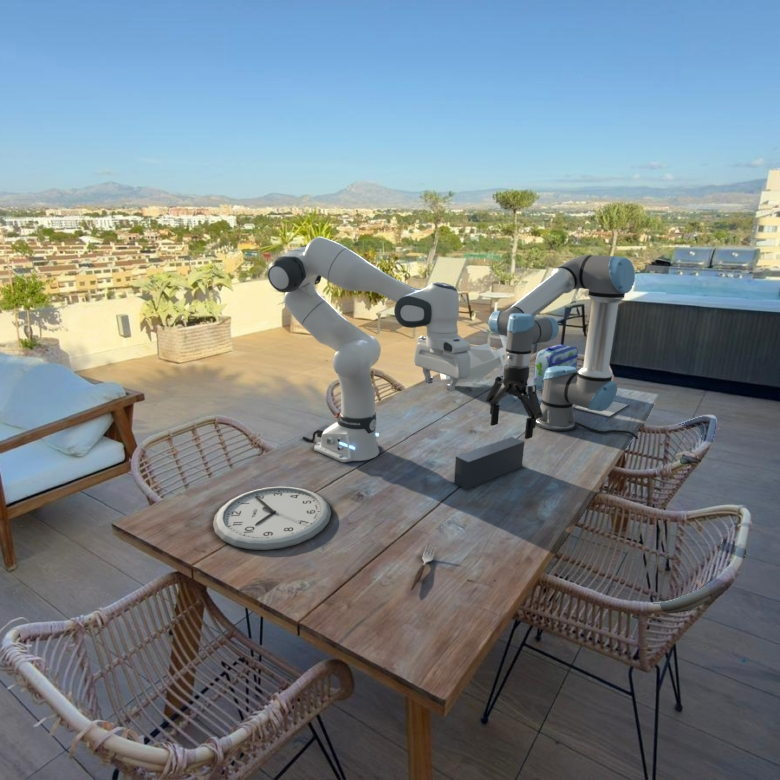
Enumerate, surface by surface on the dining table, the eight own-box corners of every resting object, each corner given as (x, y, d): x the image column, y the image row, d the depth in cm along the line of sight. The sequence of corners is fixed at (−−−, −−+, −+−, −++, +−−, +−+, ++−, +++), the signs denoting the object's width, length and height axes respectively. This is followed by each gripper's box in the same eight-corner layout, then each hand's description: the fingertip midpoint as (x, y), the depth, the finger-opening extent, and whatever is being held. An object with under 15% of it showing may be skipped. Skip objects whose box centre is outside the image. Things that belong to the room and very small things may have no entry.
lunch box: (550, 397, 237) (555, 352, 231) (529, 391, 245) (533, 348, 238) (577, 386, 255) (582, 344, 249) (556, 381, 262) (561, 340, 256)
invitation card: (608, 416, 214) (573, 407, 224) (608, 416, 214) (573, 408, 224) (628, 404, 229) (594, 396, 238) (628, 405, 229) (594, 397, 238)
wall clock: (329, 541, 123) (198, 546, 121) (329, 547, 124) (199, 552, 121) (332, 482, 152) (226, 484, 149) (332, 487, 152) (226, 489, 150)
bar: (509, 461, 172) (511, 436, 169) (521, 466, 168) (524, 441, 165) (454, 482, 157) (455, 456, 154) (466, 489, 153) (468, 462, 150)
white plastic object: (461, 429, 252) (437, 405, 227) (444, 352, 274) (420, 323, 250) (535, 404, 240) (518, 377, 215) (510, 326, 262) (492, 293, 237)
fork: (405, 590, 110) (405, 582, 109) (426, 549, 124) (426, 541, 123) (417, 593, 109) (417, 585, 108) (437, 551, 123) (437, 544, 122)
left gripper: (409, 335, 156) (408, 380, 160) (459, 348, 141) (456, 397, 145) (425, 333, 160) (424, 376, 164) (475, 345, 144) (472, 393, 148)
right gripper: (477, 358, 165) (473, 421, 171) (543, 376, 146) (536, 446, 152) (493, 355, 169) (488, 417, 175) (559, 372, 150) (551, 440, 157)
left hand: (439, 386), depth 154 cm, fingers open, 8 cm apart
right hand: (510, 431), depth 164 cm, fingers open, 13 cm apart
